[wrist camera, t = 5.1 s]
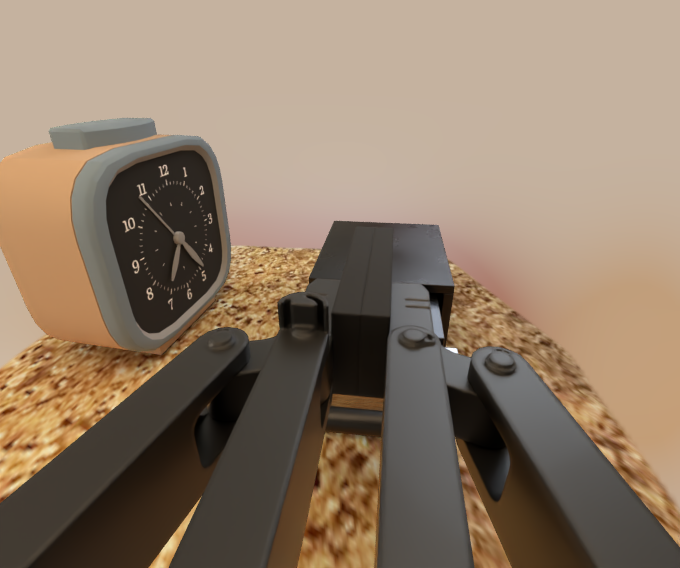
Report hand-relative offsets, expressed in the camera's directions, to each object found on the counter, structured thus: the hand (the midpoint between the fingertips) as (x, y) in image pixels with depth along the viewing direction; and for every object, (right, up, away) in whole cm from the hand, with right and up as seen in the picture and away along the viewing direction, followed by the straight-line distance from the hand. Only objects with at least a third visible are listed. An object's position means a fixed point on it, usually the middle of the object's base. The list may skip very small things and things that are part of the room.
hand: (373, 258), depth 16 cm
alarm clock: (-22, -5, +30) cm, 38 cm away
